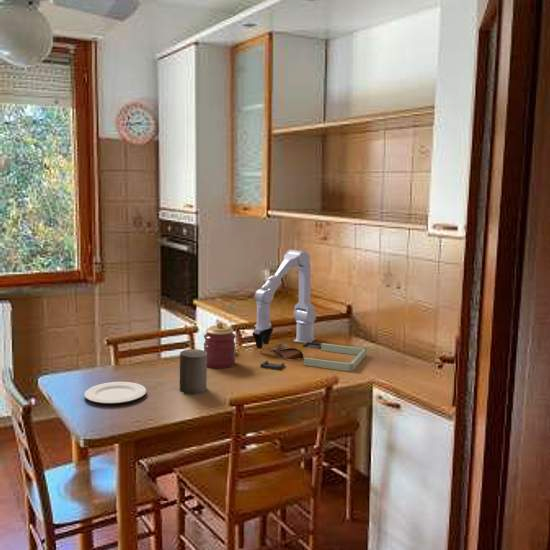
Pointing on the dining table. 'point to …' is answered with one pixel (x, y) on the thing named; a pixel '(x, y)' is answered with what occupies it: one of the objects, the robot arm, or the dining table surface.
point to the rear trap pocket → (312, 345)
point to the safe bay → (333, 364)
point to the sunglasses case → (287, 351)
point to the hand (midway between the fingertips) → (262, 346)
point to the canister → (220, 346)
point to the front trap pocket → (272, 365)
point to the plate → (115, 392)
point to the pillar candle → (193, 371)
